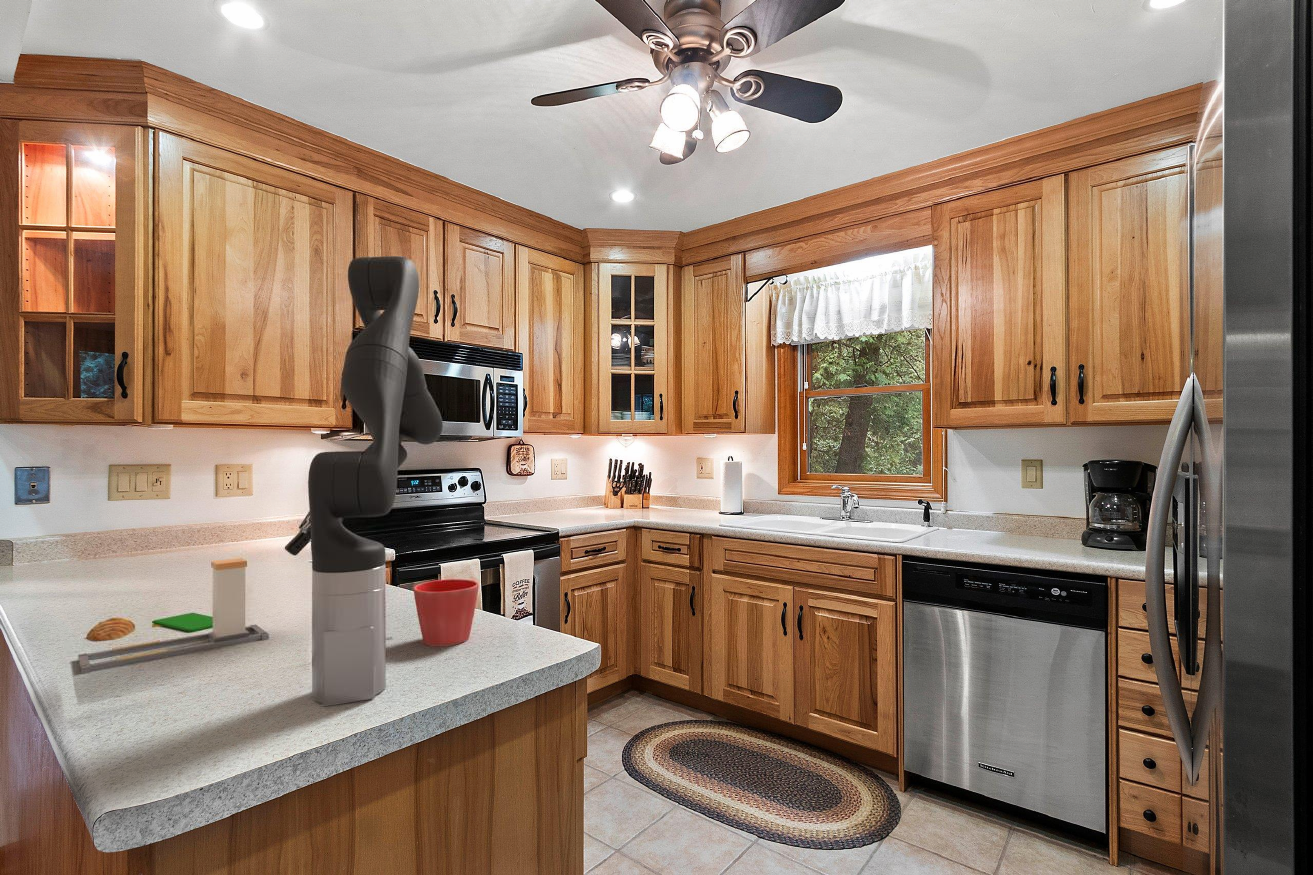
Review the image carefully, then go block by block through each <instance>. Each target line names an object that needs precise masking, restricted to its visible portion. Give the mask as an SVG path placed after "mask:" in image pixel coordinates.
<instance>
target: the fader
mask: <svg viewBox="0 0 1313 875" xmlns="http://www.w3.org/2000/svg"><path fill="white" fill-rule="evenodd" d="M210 567H211V568H212V617H213V627H212V632H208V641H209V643H210V642H216V641H222V640H227V639H233V638H238V637H244V636H249V635H250V632H248V631H247V630H246V629H245V627H246V568H247V567H248V560H246V559H243V558H242V557H238V558H230V559H221V560H220V559H219V560H211V561H210Z"/></svg>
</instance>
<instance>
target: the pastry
mask: <svg viewBox="0 0 1313 875" xmlns="http://www.w3.org/2000/svg"><path fill="white" fill-rule="evenodd" d="M136 630H137V629H136V625H135V623H134V622H133V621H132V620H130V619H127V618H124V617H111V618H107V619H105V620H103V621H98V623H97V624H95V625H94V626H93V627H92V628H91V629H90V630H89V631H88V632H87V634H86V637H85V638H86V639H88V640H89V641H92V642H106V641H113V640H118V639H122V638H124V637H126V636H128V635H130V634H132V633H134V632H135V631H136Z"/></svg>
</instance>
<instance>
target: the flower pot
mask: <svg viewBox="0 0 1313 875" xmlns="http://www.w3.org/2000/svg"><path fill="white" fill-rule="evenodd" d="M479 586H480V584H479V582H478V581H475V580H472V579H461V578H460V579H459V578H458V579H457V578H456V579H455V578H453V579H452V578H451V579H449V578H448V579H445V578H444V579H436V580H430V581H425V582H421V583H418V584H416V585H415V586H413V595H414V601H415V606H416V612H417V619H418V623H419V628H420V633H421V637H422V640H423V643H424V645H428V646H431V647H448V646H453V645H454V646H455V645H458V644H461V643H464V642H467V641H468V640H469V638H470V637H471V636H470V635H471V631H472V626H473V620H474V616H475V612H476V606H477V600H478V593H479V588H480V587H479Z"/></svg>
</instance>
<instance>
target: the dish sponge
mask: <svg viewBox="0 0 1313 875" xmlns="http://www.w3.org/2000/svg"><path fill="white" fill-rule="evenodd" d="M151 623H152V624H151V628H157V627H167V628H171V629H176V630H180V631H182V632H183V631H184V632H188V633H194V632H198V631H202V630H207V629H211V628H212V629H213V616H212V615H205V614H200V613H196V612H189V613H188V612H187V613H183V614H179V615H174V616H169V617H164V618H158V619H155V620H152V621H151Z"/></svg>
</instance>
